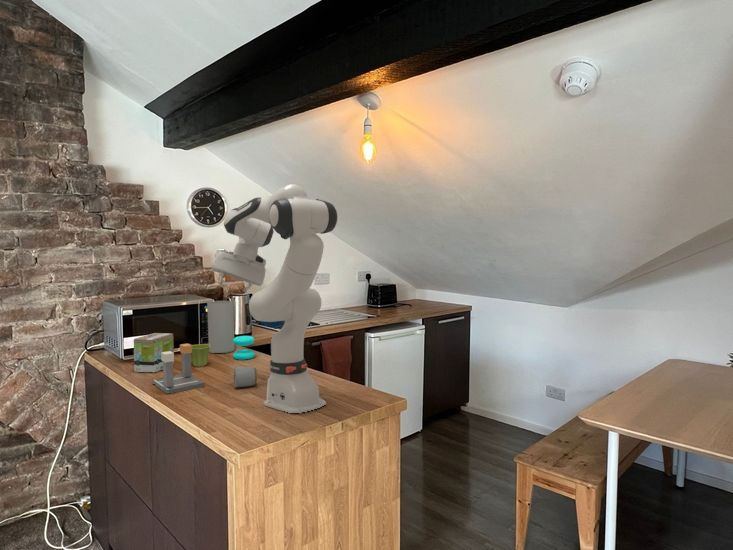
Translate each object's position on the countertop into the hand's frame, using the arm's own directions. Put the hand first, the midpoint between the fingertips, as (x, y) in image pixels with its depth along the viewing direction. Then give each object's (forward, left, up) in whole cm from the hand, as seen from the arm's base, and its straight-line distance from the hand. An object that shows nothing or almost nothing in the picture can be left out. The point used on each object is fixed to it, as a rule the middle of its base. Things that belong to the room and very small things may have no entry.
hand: (232, 288), depth 182 cm
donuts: (+39, -23, -38) cm, 59 cm away
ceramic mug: (-2, -3, -38) cm, 38 cm away
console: (+16, +16, -38) cm, 44 cm away
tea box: (+48, +15, -38) cm, 63 cm away
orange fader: (+20, +11, -36) cm, 42 cm away
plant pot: (+40, -2, -38) cm, 55 cm away
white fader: (+11, +21, -36) cm, 43 cm away
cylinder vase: (+60, -21, -38) cm, 74 cm away
